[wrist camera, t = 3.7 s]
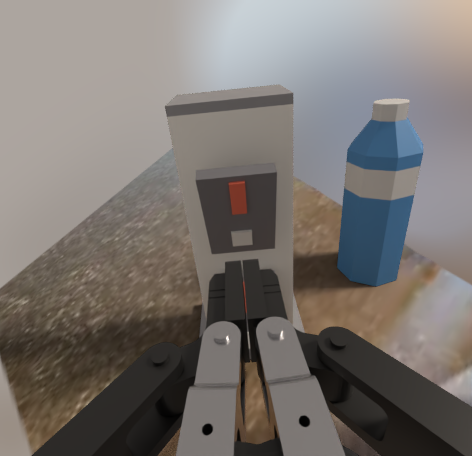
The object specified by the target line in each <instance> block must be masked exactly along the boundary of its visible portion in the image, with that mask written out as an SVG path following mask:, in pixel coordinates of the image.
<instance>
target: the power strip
mask: <svg viewBox="0 0 472 456" xmlns="http://www.w3.org/2000/svg"><path fill="white" fill-rule="evenodd" d="M165 109H166V114H167V119H168V125H169V129H170V135H171V140H172V145H173V150H174V156H175V161H176V166H177V171H178V176H179V181H180V187H181V192H182V197H183V202H184V207H185V212H186V218H187V223H188V228H189V233H190V238H191V243H192V249H193V254H194V259H195V264H196V269H197V274H198V280H199V285H200V290H201V295H202V300H203V301H202V313H201V324H200V336H199V338H200V337H201V336H202V334H203V333H204V331H205V329H206V321H207V307H208V292H209V281H210V280H211V278H212V277H213V275H214V274H219V273H225V262H227V261H238V260H241V265H242V273H243V262H242V260H249V259H258V260H259V267H260V270H263V269H272V270H275V273H276V275H277V276H278V280H279V285H280V289H281V293H282V297H283V301H284V306H285V310H286V314H287V318H288V321H289V322H290V323H292V325H293V326H294V328H295V329H297V330H299V331H301V332H304V329H303V325H302V322H301V318H300V315H299V311H298V308H297V304H296V301H295V297H294V294H293V93H292V92H291V91H289V90H287V89H286V88H284V87H283V86H281V85H270V86H260V87H250V88H242V89H232V90H221V91H212V92H202V93H194V94H193V93H192V94H183V95H177V96H175V97H174V98H173V99H172V100H171V101H170V102H169V103H168V104H167V105H166V106H165ZM273 162H275V166H276V170H277V192H276V229H275V249H264V250H254V251H243V252H233V253H222V254H212V253H211V248H210V244H209V239H208V235H207V230H206V226H205V221H204V217H203V212H202V208H201V203H200V199H199V194H198V190H197V185H196V181H195V178H196V170H203V169H213V168H223V167H233V166H243V165H253V164H263V163H273ZM304 333H305V332H304ZM250 359H251V358H250Z"/></svg>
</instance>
